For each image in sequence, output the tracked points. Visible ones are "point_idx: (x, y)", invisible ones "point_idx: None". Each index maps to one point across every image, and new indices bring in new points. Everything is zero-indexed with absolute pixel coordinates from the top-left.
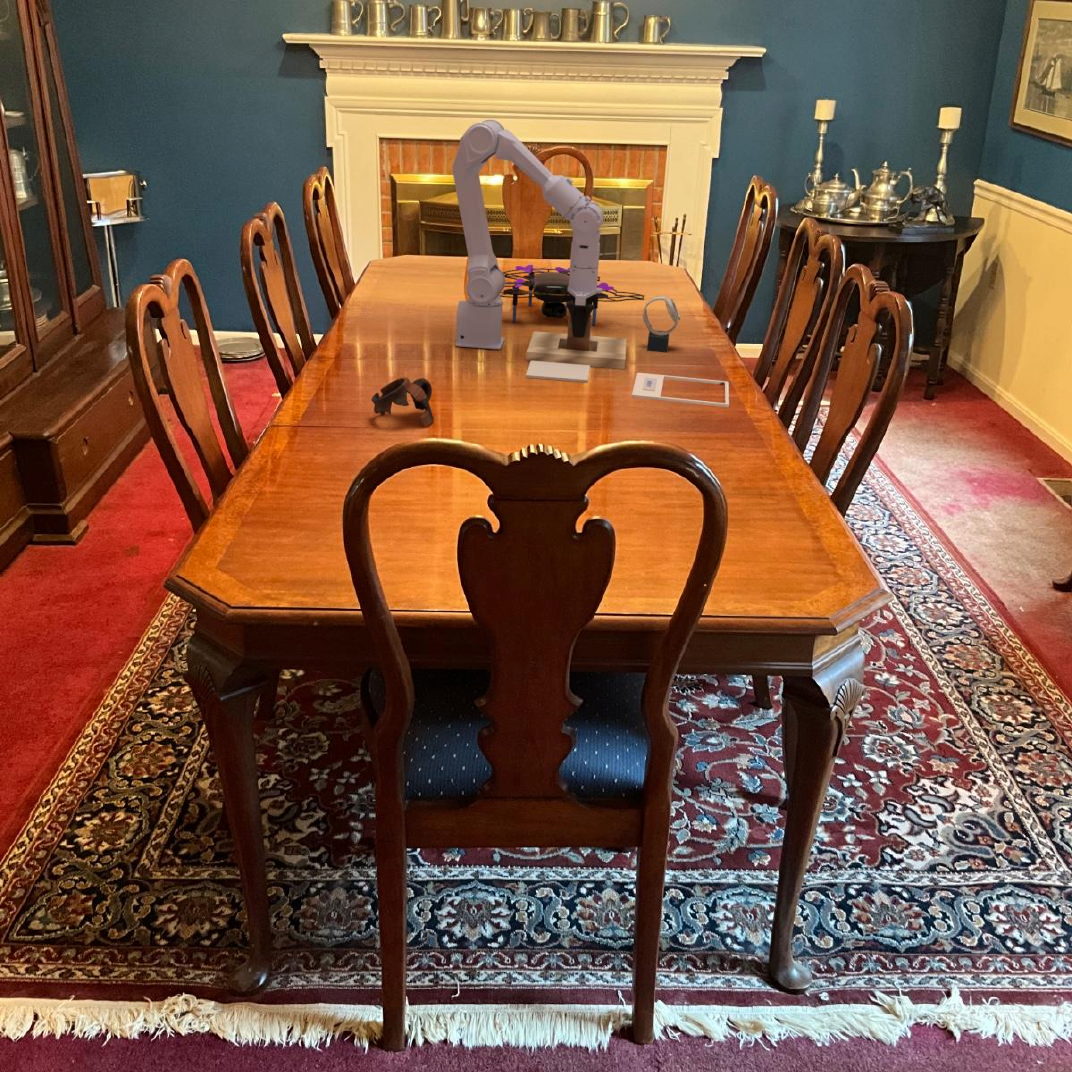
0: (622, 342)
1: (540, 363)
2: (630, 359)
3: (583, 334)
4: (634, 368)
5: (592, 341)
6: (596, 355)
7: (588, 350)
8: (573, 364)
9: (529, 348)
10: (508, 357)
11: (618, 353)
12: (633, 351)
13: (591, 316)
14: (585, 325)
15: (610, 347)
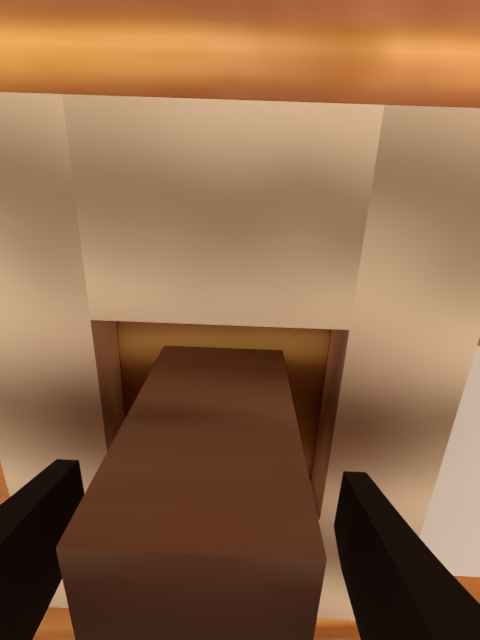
0: (38, 130)
1: (449, 544)
2: (245, 72)
3: (380, 493)
4: (469, 43)
5: (97, 352)
6: (441, 330)
7: (225, 361)
8: (460, 423)
9: (342, 615)
10: (333, 621)
11: (373, 171)
12: (27, 41)
13: (70, 531)
14: (439, 569)
15: (219, 233)
